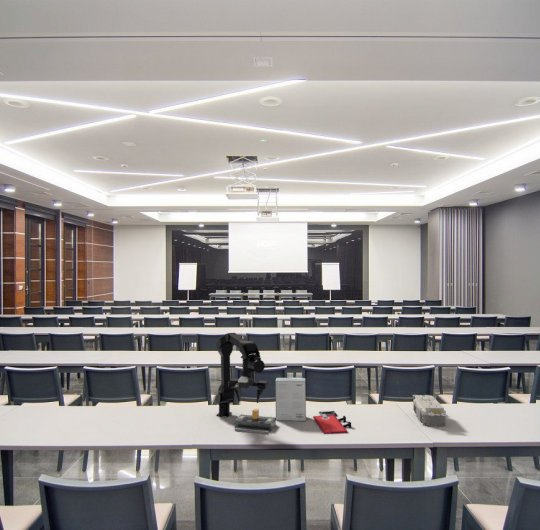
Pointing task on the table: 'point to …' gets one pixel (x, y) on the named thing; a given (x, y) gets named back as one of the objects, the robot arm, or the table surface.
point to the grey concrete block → (429, 410)
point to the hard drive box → (290, 399)
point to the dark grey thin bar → (251, 430)
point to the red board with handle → (331, 423)
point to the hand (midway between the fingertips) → (248, 402)
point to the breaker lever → (255, 413)
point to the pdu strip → (255, 422)
